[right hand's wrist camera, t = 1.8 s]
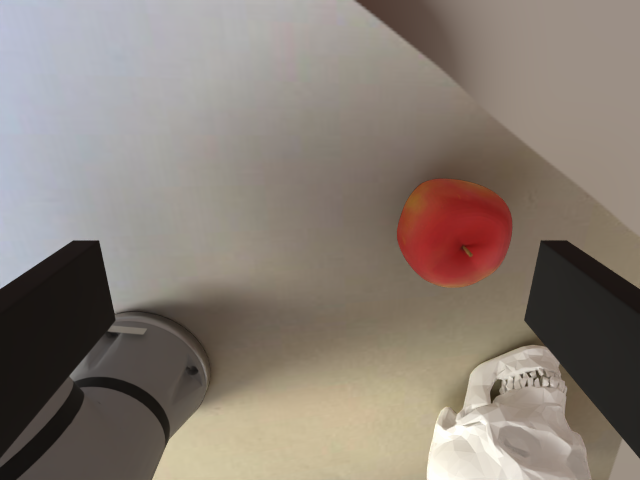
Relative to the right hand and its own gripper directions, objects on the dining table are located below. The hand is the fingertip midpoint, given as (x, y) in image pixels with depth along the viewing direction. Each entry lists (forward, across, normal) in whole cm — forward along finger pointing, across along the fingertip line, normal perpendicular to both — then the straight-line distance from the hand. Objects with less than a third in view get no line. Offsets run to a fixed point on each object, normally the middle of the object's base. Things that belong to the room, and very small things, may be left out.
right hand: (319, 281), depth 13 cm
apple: (+28, -12, +7) cm, 31 cm away
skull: (+28, -20, +32) cm, 47 cm away
